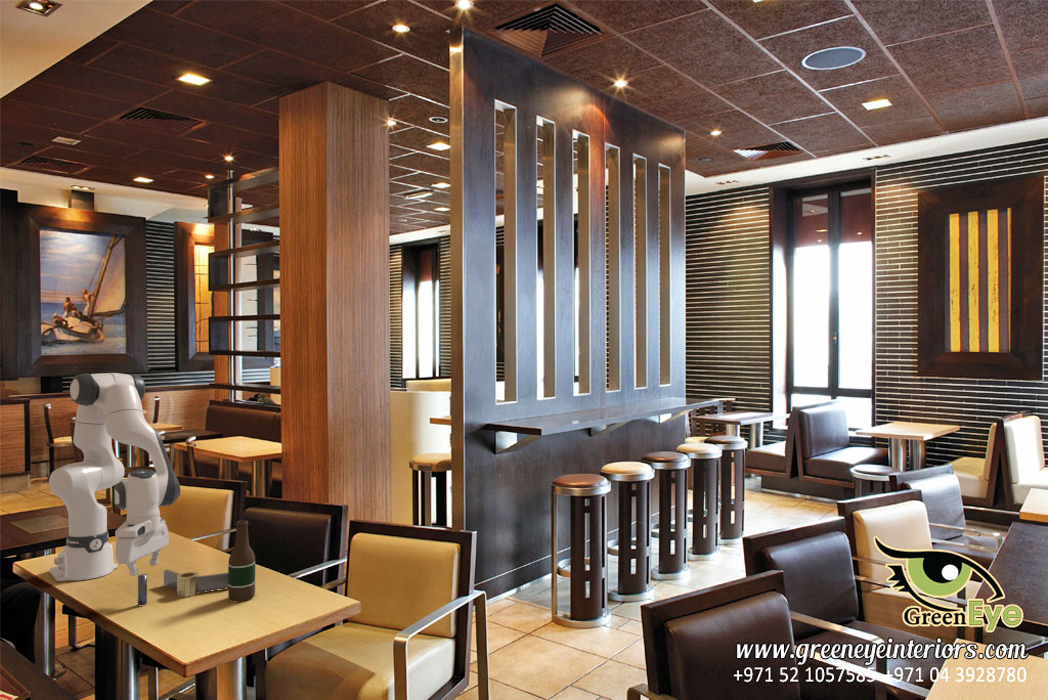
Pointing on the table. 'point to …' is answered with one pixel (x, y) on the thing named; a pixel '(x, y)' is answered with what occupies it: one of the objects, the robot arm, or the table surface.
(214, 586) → the hinge
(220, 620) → the table surface
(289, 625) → the table surface
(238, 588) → the beer bottle
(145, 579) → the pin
